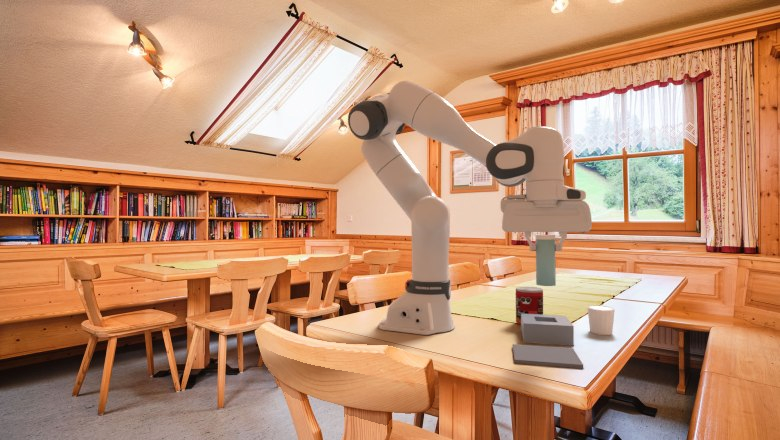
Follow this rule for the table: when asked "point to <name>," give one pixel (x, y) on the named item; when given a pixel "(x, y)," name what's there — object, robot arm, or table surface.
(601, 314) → the white cup
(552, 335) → the block
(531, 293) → the canned food
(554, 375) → the table surface
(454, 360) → the table surface
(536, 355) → the mat
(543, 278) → the cylinder
